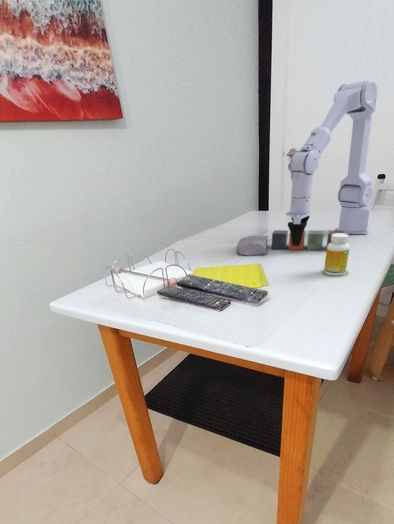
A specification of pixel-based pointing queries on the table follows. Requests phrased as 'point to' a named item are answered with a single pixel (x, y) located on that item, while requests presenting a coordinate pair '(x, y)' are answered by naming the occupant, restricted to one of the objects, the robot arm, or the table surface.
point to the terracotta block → (299, 245)
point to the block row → (313, 239)
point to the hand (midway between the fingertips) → (297, 242)
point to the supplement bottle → (337, 254)
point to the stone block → (252, 245)
